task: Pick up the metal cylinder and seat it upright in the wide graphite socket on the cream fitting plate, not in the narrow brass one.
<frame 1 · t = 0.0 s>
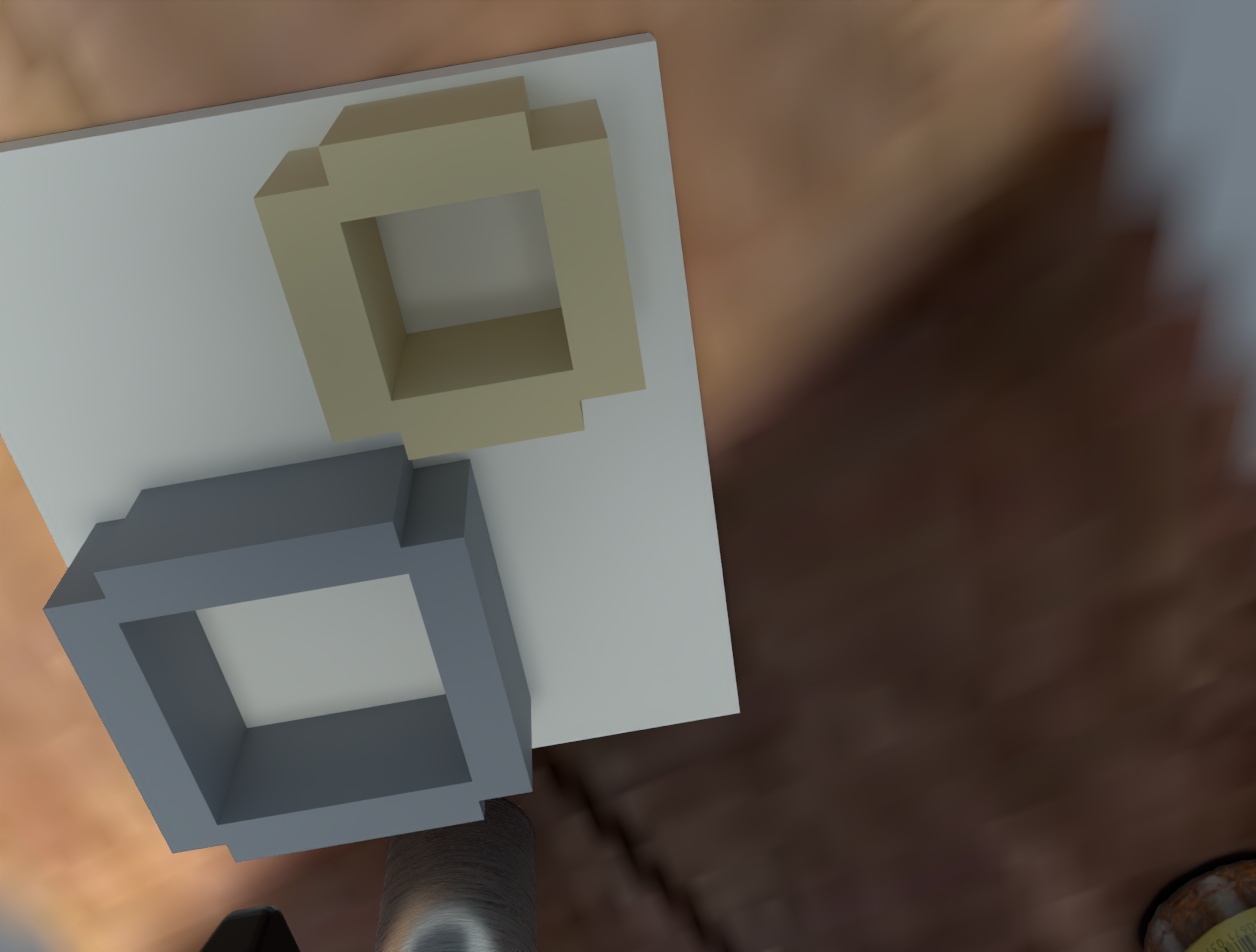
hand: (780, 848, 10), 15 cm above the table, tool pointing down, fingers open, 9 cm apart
fitting plate: (386, 467, 24), on the table
sauce bottle: (1230, 906, 35), on the table
metal cylinder: (462, 842, 30), on the table
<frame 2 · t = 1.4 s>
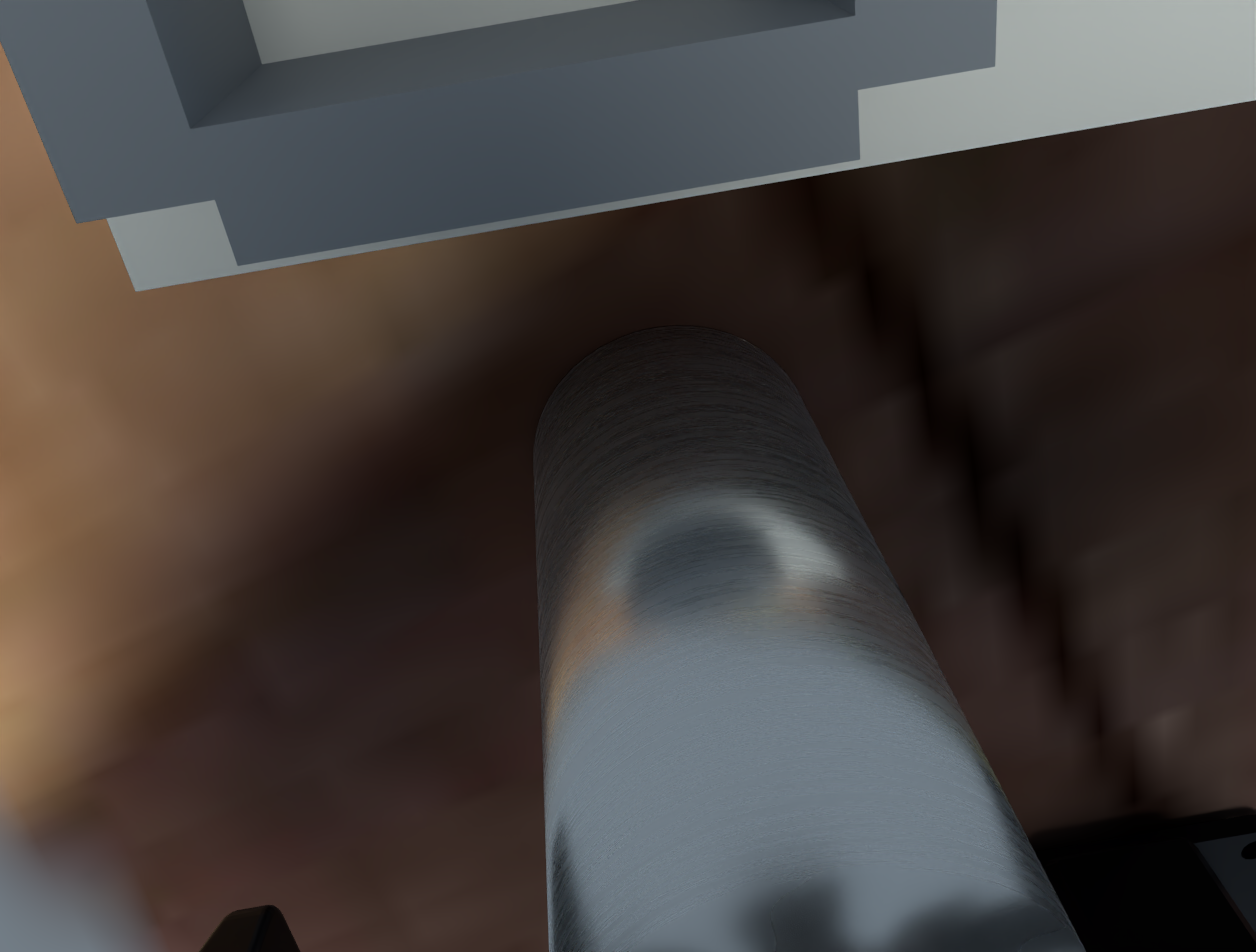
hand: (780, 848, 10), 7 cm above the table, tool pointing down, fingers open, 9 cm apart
metal cylinder: (672, 454, 16), on the table
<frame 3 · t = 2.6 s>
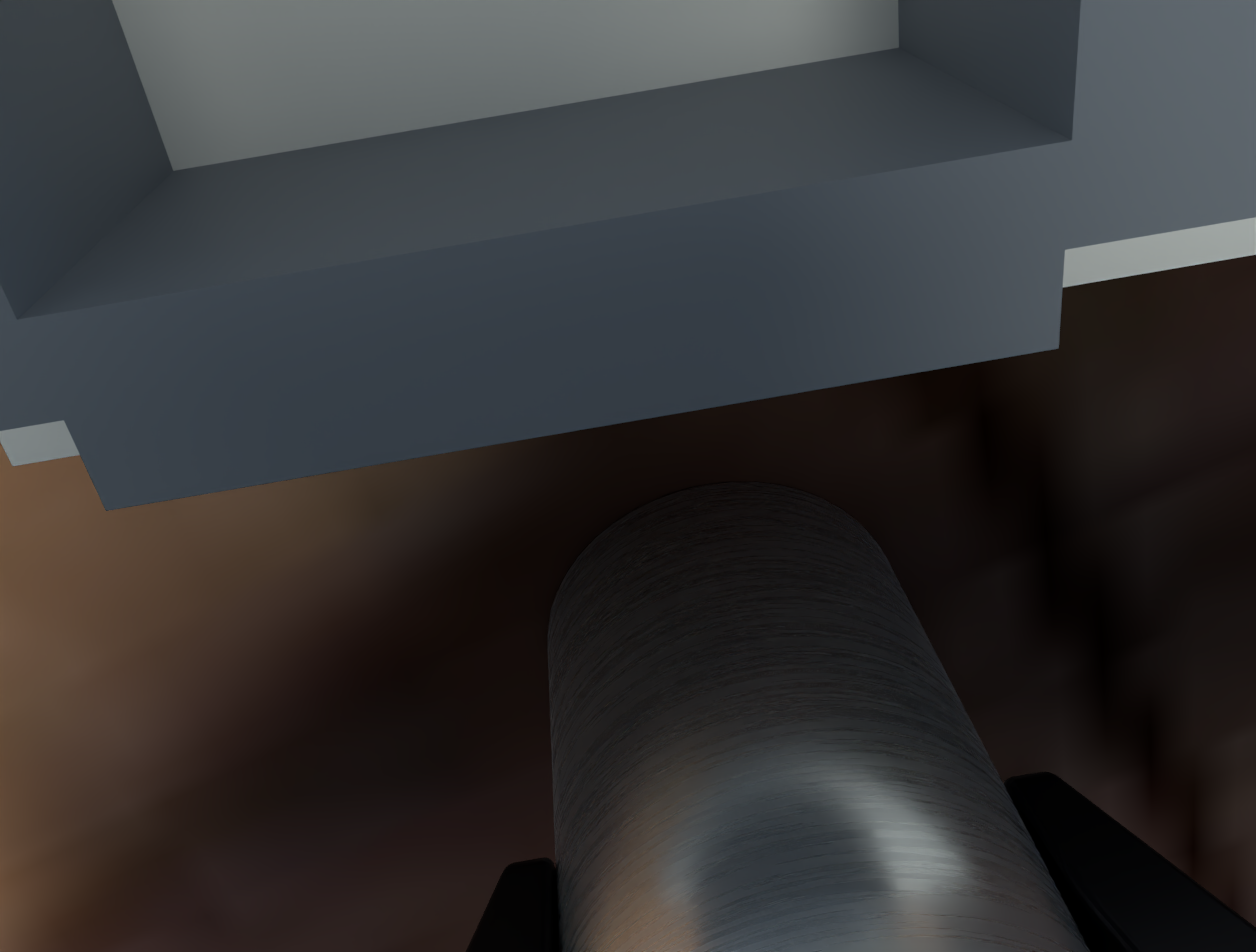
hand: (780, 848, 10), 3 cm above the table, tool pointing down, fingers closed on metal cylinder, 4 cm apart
metal cylinder: (724, 634, 12), on the table, touching gripper
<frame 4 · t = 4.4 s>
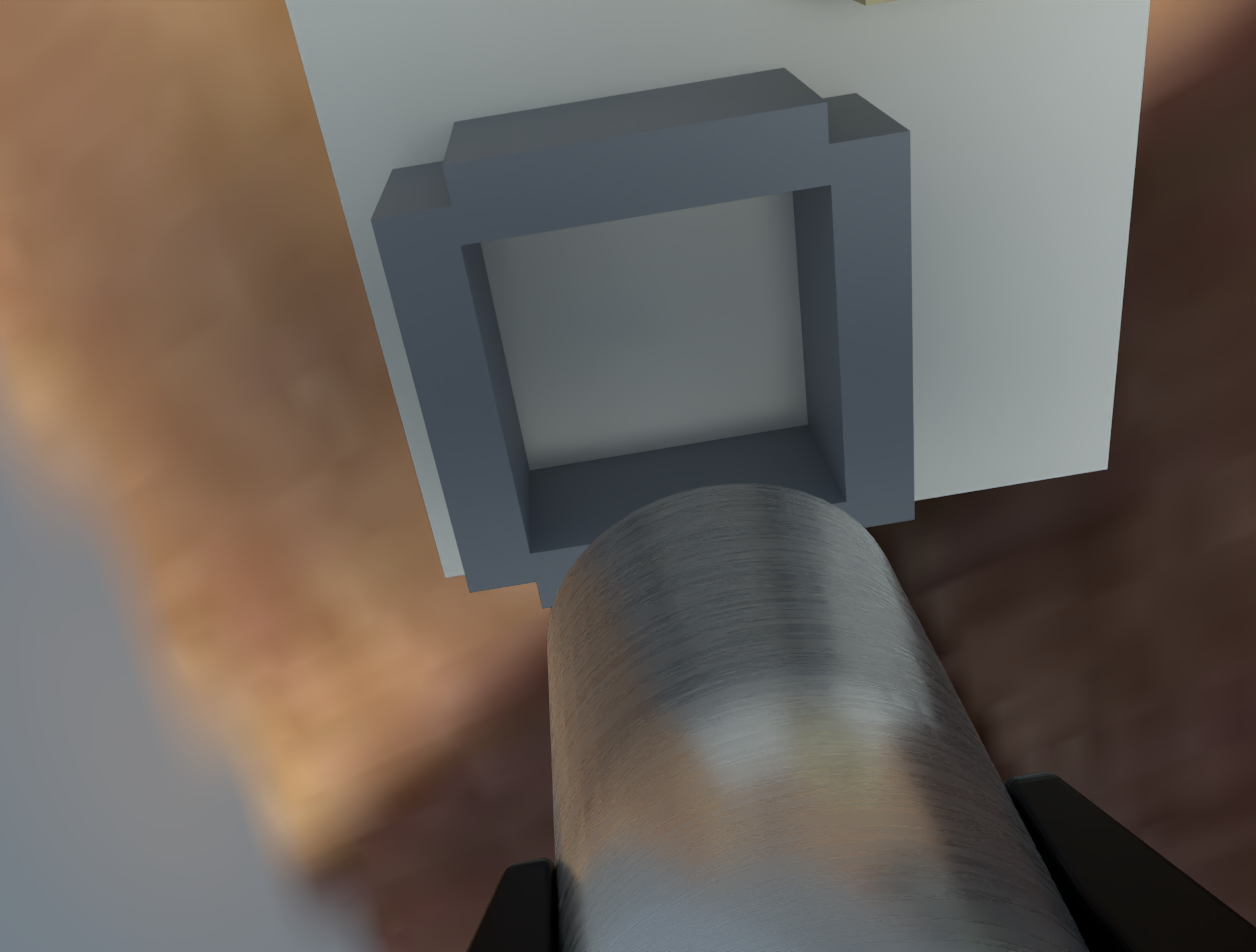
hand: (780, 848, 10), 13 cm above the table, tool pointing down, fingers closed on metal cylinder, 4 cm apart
fitting plate: (732, 123, 20), on the table
metal cylinder: (724, 635, 12), point 10 cm above the table, touching gripper
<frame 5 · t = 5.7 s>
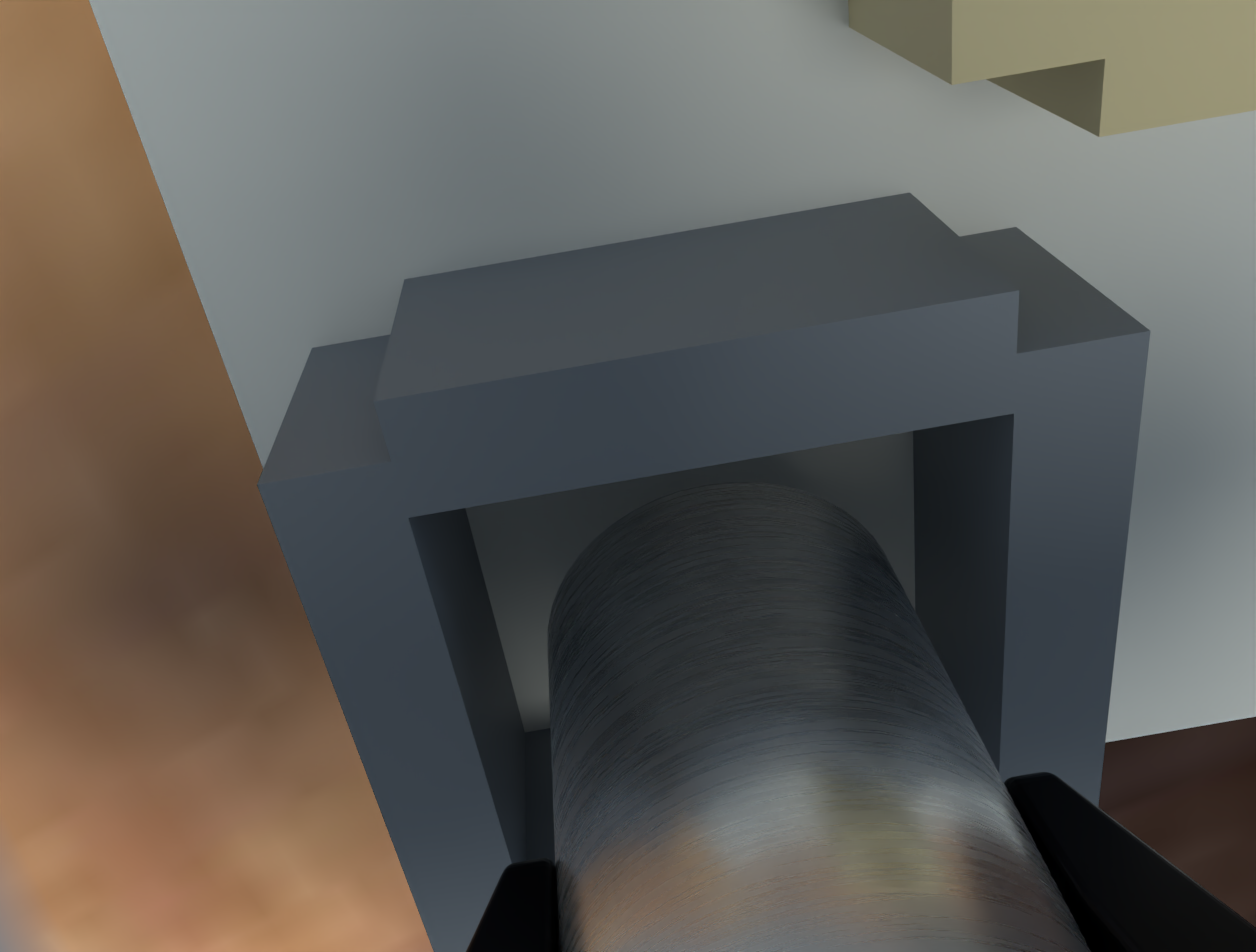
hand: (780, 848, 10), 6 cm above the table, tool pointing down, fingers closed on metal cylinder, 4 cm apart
fitting plate: (820, 261, 13), on the table
metal cylinder: (724, 634, 12), point 3 cm above the table, touching gripper
when the fingers open (5 cm above the table, at t = 6.5 s): metal cylinder drops 1 cm, resting on fitting plate.
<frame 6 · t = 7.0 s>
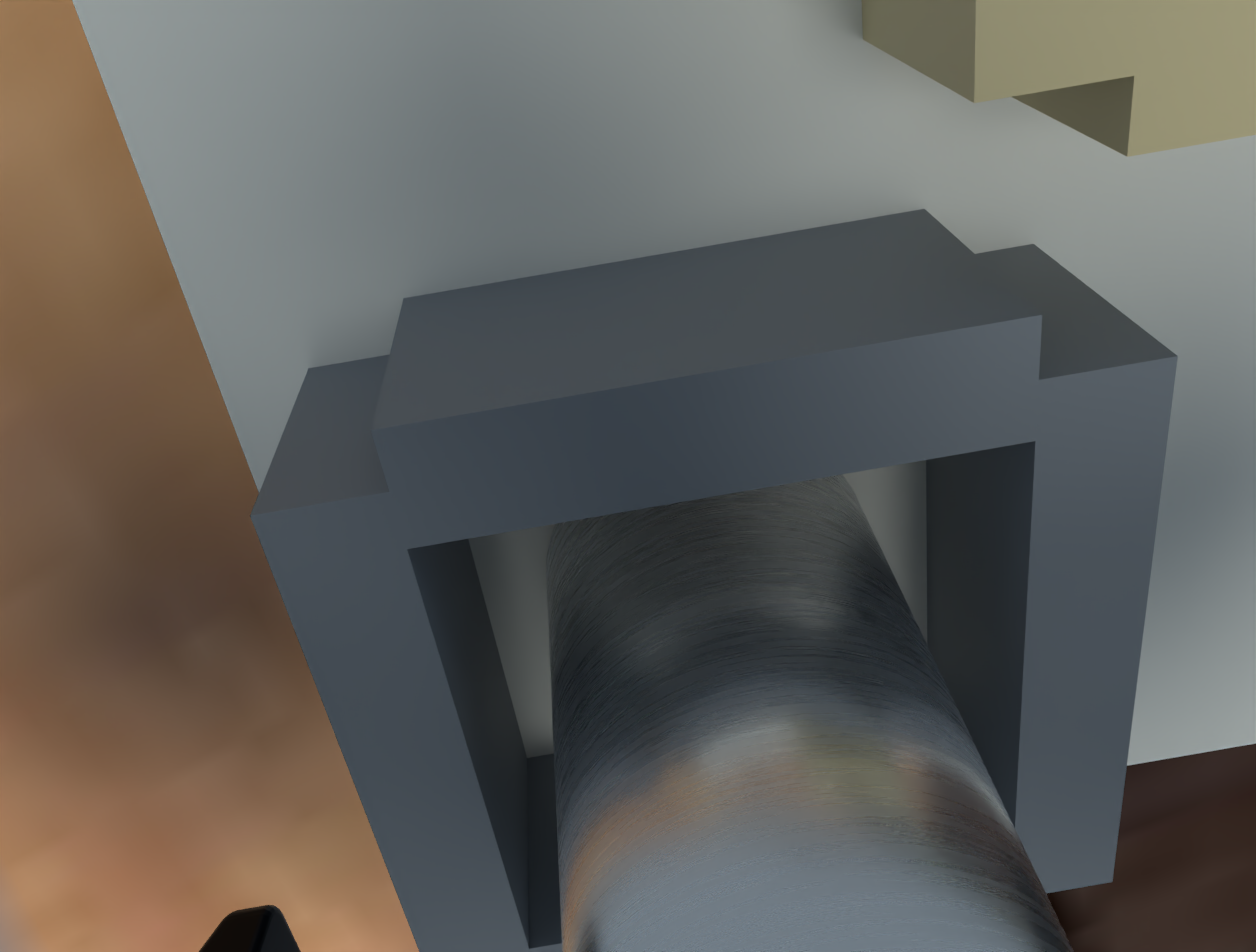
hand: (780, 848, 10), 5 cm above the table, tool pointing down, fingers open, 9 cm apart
fitting plate: (831, 277, 13), on the table
metal cylinder: (707, 564, 13), point 1 cm above the table, touching fitting plate
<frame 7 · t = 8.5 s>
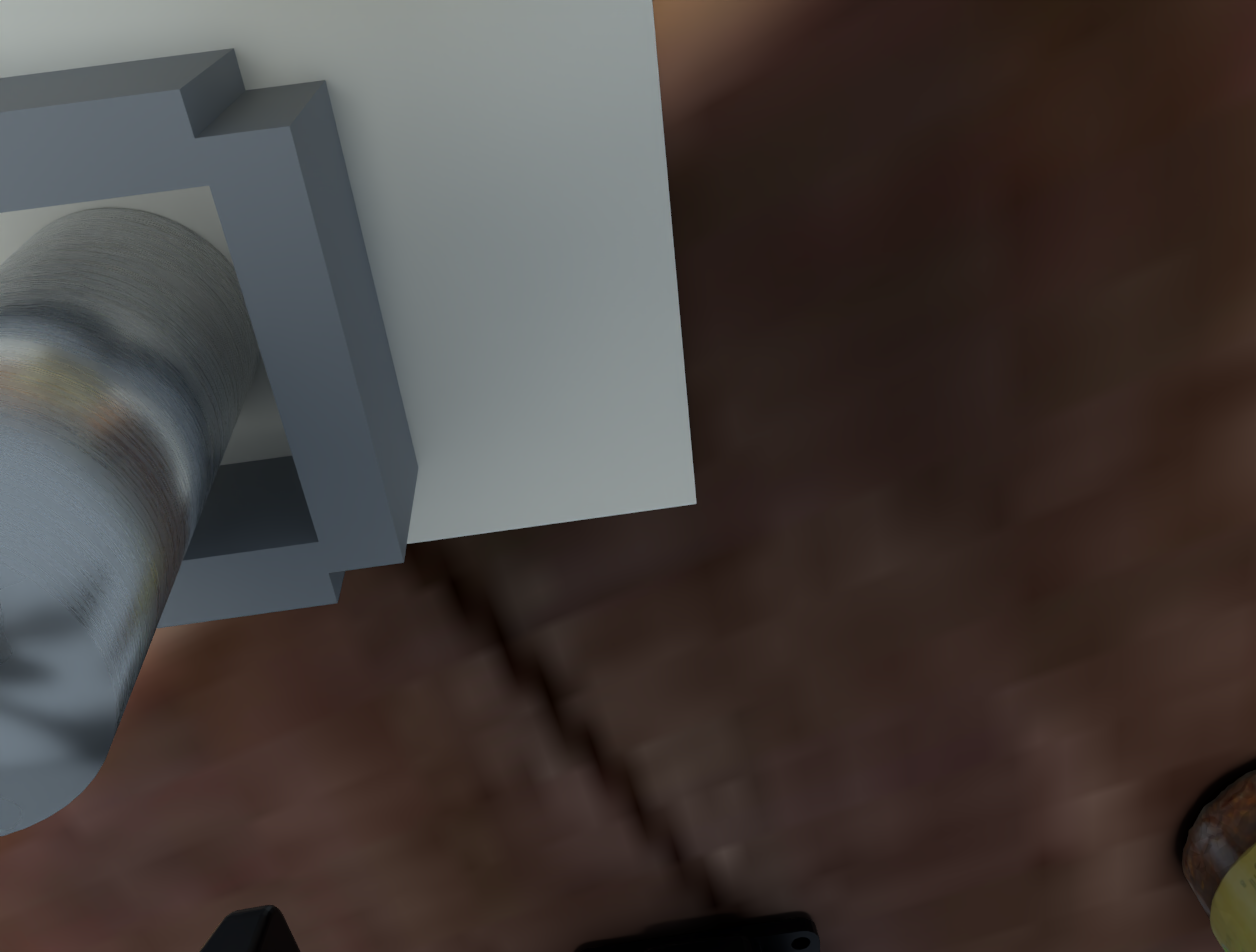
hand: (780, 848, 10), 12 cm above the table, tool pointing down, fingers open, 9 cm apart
fitting plate: (216, 110, 17), on the table
metal cylinder: (135, 327, 18), point 1 cm above the table, touching fitting plate
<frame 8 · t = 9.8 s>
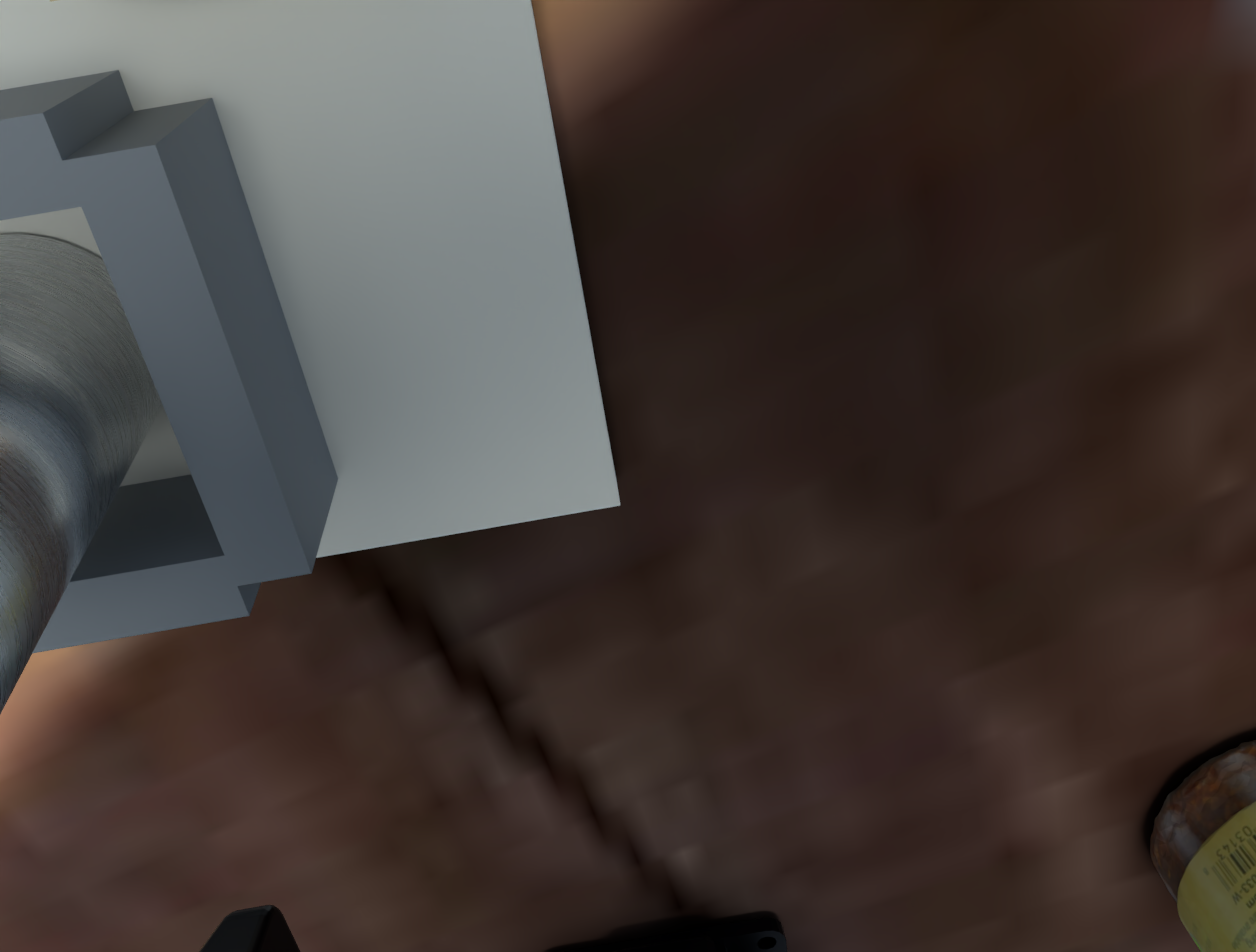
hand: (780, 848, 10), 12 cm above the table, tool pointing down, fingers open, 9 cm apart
fitting plate: (113, 131, 18), on the table
metal cylinder: (44, 349, 18), point 1 cm above the table, touching fitting plate
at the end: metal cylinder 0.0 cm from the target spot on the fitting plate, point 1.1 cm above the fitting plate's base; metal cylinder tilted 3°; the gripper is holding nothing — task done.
